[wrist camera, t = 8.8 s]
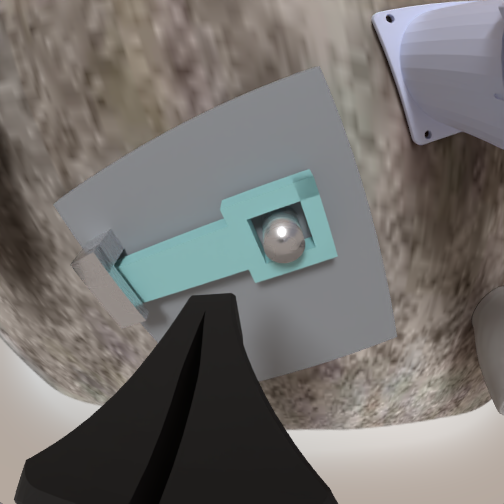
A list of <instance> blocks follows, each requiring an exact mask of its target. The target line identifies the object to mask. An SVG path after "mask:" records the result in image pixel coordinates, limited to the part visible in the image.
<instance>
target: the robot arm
mask: <svg viewBox="0 0 504 504" xmlns="http://www.w3.org/2000/svg"><path fill="white" fill-rule="evenodd" d="M386 15H388V16H390V17H391V19H392V22H391V23H389V22H388V21H387V20H386ZM372 23H373V25H374V28H375V30H376V32H377V35H378V37H379V40H380V42H381V45H382V47H383V50H384V52H385V55H386V57H387V60H388V63H389V66H390V68H391V71H392V74H393V77H394V80H395V83H396V86H397V89H398V92H399V95H400V98H401V101H402V105H403V108H404V111H405V115H406V118H407V122H408V126H409V129H410V133H411V137H412V140H413V141H414V142H415V143H416V144H418V145H424V144H427V143H430V142H433V141H436V140H439V139H442V138H445V137H448V136H451V135H454V134H457V133H460V132H465V133H468V134H470V135H472V136H475V137H477V138H479V139H482V140H484V141H486V142H488V143H490V144H493V145H495V146H497V147H499V148H501V149H503V150H504V0H485V1H460V2H446V3H435V4H426V5H418V6H411V7H404V8H398V9H392V10H387V11H382V12H378V13H375V14H374V15H373V16H372ZM426 131H428V132H429V135H428V137H426V138H425V132H426ZM14 500H15V502H16V503H17V504H338V502H337V501H336V499H335V497H334V496H333V494H332V492H331V490H330V488H329V487H328V486H327V485H326V483H325V482H324V481H323V480H322V479H321V478H320V476H319V475H318V474H317V473H316V471H315V470H314V469H313V468H312V466H311V465H310V464H309V463H308V461H307V460H306V459H305V457H304V456H303V455H302V453H301V452H300V451H299V449H298V448H297V446H296V445H295V444H294V442H293V441H292V439H291V437H290V436H289V434H288V433H287V431H286V430H285V428H284V427H283V425H282V423H281V422H280V420H279V419H278V417H277V416H276V414H275V412H274V410H273V409H272V407H271V405H270V403H269V401H268V400H267V398H266V396H265V394H264V392H263V390H262V388H261V386H260V384H259V382H258V380H257V377H256V375H255V373H254V371H253V368H252V366H251V363H250V361H249V359H248V356H247V353H246V351H245V348H244V345H243V334H242V329H241V323H240V318H239V312H238V306H237V301H236V296H235V295H234V294H232V293H221V294H206V295H192V296H191V297H190V298H189V299H188V301H187V302H186V304H185V305H184V307H183V308H182V310H181V311H180V313H179V314H178V316H177V317H176V319H175V320H174V322H173V323H172V325H171V326H170V327H169V329H168V330H167V332H166V333H165V334H164V336H163V337H162V339H161V340H160V341H159V343H158V344H157V346H156V347H155V348H154V349H153V351H152V352H151V353H150V355H149V356H148V357H147V358H146V360H145V361H144V362H143V363H142V365H141V366H140V367H139V368H138V369H137V371H136V372H135V373H134V374H133V375H132V376H131V378H130V379H129V380H128V381H127V382H126V383H125V384H124V385H123V386H122V387H121V388H120V389H119V390H118V392H117V393H116V394H115V395H114V396H113V397H111V398H110V399H109V400H108V401H107V402H106V403H105V404H104V405H103V406H102V407H101V408H100V409H98V411H96V412H95V413H94V414H93V415H92V416H91V417H90V418H88V419H87V420H86V421H85V422H83V423H82V424H81V425H79V426H78V427H77V428H76V429H74V430H73V431H72V432H70V433H69V434H68V435H66V436H65V437H64V438H62V439H60V440H59V441H57V442H56V443H54V444H53V445H51V446H49V447H48V448H46V449H45V450H43V451H41V452H40V453H38V454H36V455H34V456H33V457H31V458H29V459H27V460H26V462H25V465H24V468H23V471H22V474H21V477H20V480H19V484H18V487H17V490H16V494H15V498H14ZM0 504H2V503H0Z"/></svg>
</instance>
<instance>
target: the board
mask: <svg viewBox="0 0 504 504" xmlns="http://www.w3.org/2000/svg"><path fill="white" fill-rule="evenodd" d="M308 169H310V171H311V173H312V174H313V176H314V179H315V182H316V185H317V188H318V192H319V195H320V198H321V201H322V204H323V207H324V211H325V214H326V217H327V221H328V224H329V227H330V231H331V234H332V238H333V241H334V244H335V248H336V252H337V255H338V257H335V258H332V259H329V260H326V261H323V262H320V263H316V264H313V265H310V266H307V267H304V268H301V269H298V270H295V271H292V272H289V273H286V274H283V275H280V276H276V277H273V278H270V279H267V280H264V281H261V282H257V283H255V281H254V279H253V277H252V275H251V273H250V271H249V270H246V271H242V272H239V273H236V274H233V275H230V276H227V277H224V278H221V279H218V280H214V281H211V282H208V283H205V284H202V285H199V286H196V287H192V288H189V289H186V290H183V291H180V292H177V293H173V294H170V295H167V296H164V297H161V298H157V299H154V300H151V301H148V302H145V303H143V305H144V306H145V307H146V308H147V310H148V311H149V314H148V317H147V319H146V321H144V322H141V324H142V325H143V326H144V328H145V329H146V330H147V331H148V332H149V333H150V335H151V336H152V337H153V338H154V339H155V340H156V341H157V343H159V341H160V340H161V339H162V337H163V336H164V334H165V333H166V332H167V330H168V329H169V327H170V326H171V325H172V323H173V322H174V320H175V319H176V317H177V316H178V314H179V313H180V311H181V310H182V308H183V307H184V305H185V304H186V302H187V301H188V299H189V298H190V297H191V296H192V295H206V294H221V293H232V294H234V295H235V296H236V301H237V306H238V312H239V318H240V323H241V329H242V334H243V345H244V348H245V351H246V353H247V356H248V359H249V361H250V363H251V366H252V368H253V371H254V373H255V375H256V377H257V380H258V382H259V381H263V380H267V379H271V378H274V377H278V376H282V375H285V374H289V373H292V372H296V371H299V370H303V369H306V368H309V367H312V366H316V365H319V364H322V363H325V362H328V361H331V360H334V359H337V358H340V357H343V356H346V355H349V354H352V353H355V352H358V351H360V350H363V349H366V348H369V347H371V346H374V345H377V344H379V343H382V342H385V341H387V340H390V339H392V338H395V337H397V333H396V327H395V321H394V315H393V309H392V304H391V299H390V293H389V288H388V283H387V279H386V274H385V269H384V265H383V260H382V256H381V251H380V247H379V243H378V239H377V235H376V231H375V227H374V223H373V219H372V216H371V212H370V208H369V205H368V201H367V198H366V194H365V191H364V187H363V184H362V181H361V178H360V174H359V171H358V168H357V165H356V162H355V159H354V156H353V153H352V150H351V147H350V144H349V141H348V138H347V135H346V132H345V129H344V127H343V124H342V121H341V118H340V116H339V113H338V110H337V108H336V105H335V103H334V100H333V98H332V95H331V92H330V90H329V88H328V85H327V83H326V80H325V78H324V75H323V73H322V71H321V68H320V66H318V67H313V68H310V69H307V70H304V71H302V72H299V73H296V74H293V75H291V76H288V77H285V78H283V79H280V80H277V81H275V82H272V83H270V84H267V85H265V86H262V87H260V88H257V89H255V90H253V91H250V92H248V93H245V94H243V95H241V96H239V97H236V98H234V99H232V100H230V101H227V102H225V103H223V104H221V105H219V106H216V107H214V108H212V109H210V110H208V111H206V112H204V113H202V114H200V115H198V116H196V117H194V118H192V119H190V120H188V121H186V122H184V123H182V124H180V125H178V126H176V127H174V128H172V129H171V130H169V131H167V132H165V133H163V134H161V135H159V136H158V137H156V138H154V139H152V140H151V141H149V142H147V143H145V144H144V145H142V146H140V147H138V148H137V149H135V150H133V151H132V152H130V153H128V154H127V155H125V156H123V157H122V158H120V159H118V160H117V161H115V162H114V163H112V164H110V165H109V166H107V167H106V168H104V169H103V170H101V171H99V172H98V173H96V174H95V175H93V176H92V177H90V178H89V179H87V180H86V181H84V182H83V183H81V184H80V185H79V186H77V187H76V188H74V189H73V190H71V191H70V192H69V193H67V194H66V195H64V196H63V197H62V198H60V199H59V200H58V201H57V202H56V203H54V206H55V208H56V209H57V211H58V212H59V214H60V215H61V217H62V219H63V220H64V222H65V223H66V225H67V226H68V228H69V229H70V231H71V232H72V234H73V235H74V237H75V238H76V239H77V241H78V242H79V244H80V245H81V247H82V248H84V246H85V245H86V244H87V243H88V241H89V240H91V239H93V238H95V237H97V236H98V235H100V234H102V233H104V232H106V231H107V230H109V229H112V231H113V232H114V234H115V235H116V237H117V238H118V240H119V241H120V243H121V244H122V246H123V247H124V250H123V251H122V253H121V254H120V256H119V258H118V259H120V258H123V257H125V256H128V255H130V254H133V253H135V252H138V251H140V250H143V249H145V248H148V247H150V246H153V245H155V244H158V243H160V242H163V241H166V240H168V239H171V238H173V237H176V236H178V235H181V234H184V233H186V232H189V231H192V230H194V229H197V228H199V227H202V226H205V225H207V224H210V223H213V222H215V221H218V220H221V219H224V217H223V215H222V213H221V211H220V207H221V202H222V200H224V199H227V198H229V197H232V196H235V195H237V194H240V193H243V192H245V191H248V190H251V189H254V188H256V187H259V186H262V185H265V184H267V183H270V182H273V181H276V180H279V179H282V178H284V177H287V176H290V175H293V174H296V173H299V172H302V171H305V170H308ZM287 206H290V207H291V208H293V209H294V210H295V212H296V213H297V216H298V219H299V223H300V226H301V229H302V233H303V236H304V239H306V238H309V237H312V234H311V232H310V229H309V226H308V223H307V220H306V217H305V214H304V211H303V208H302V205H301V202H300V201H299V202H296V203H293V204H290V205H287ZM262 217H263V214H262V215H259V216H256V217H253V218H251V221H252V223H253V225H254V228H255V230H256V232H257V234H258V237H259V239H260V241H261V244H262V246H263V231H262ZM263 248H264V246H263ZM118 259H117V260H118Z"/></svg>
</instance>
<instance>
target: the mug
mask: <svg viewBox="0 0 504 504" xmlns="http://www.w3.org/2000/svg"><path fill="white" fill-rule="evenodd" d="M472 325H473V328H474V334H475V345H476V351H477V356H478V361H479V365H480V368H481V371H482V374H483V377H484V380H485V383H486V386H487V388H488V391H489V393H490V395H491V398H492V400H493V402H494V404H495V406H496V408H497V410H498V412H499V413H500V414H502V415H504V286H501V287H498V288H496V289H494V290H492V291H491V292H490V293H488V294H487V295H486V296H485V297H484V298H483V299H482V300H481V302H480V303H479V304H478V306H477V307H476V309H475V311H474V313H473V316H472Z"/></svg>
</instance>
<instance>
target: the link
mask: <svg viewBox="0 0 504 504" xmlns="http://www.w3.org/2000/svg"><path fill="white" fill-rule="evenodd" d="M299 201H300V202H301V205H302V208H303V211H304V214H305V217H306V220H307V223H308V226H309V229H310V232H311V234H312V237H309V238H306V239H304V240H305V249H304V252H303V253H302V255H301V256H300V257H299V258H298V259H297V260H295V261H293V262H290V263H277V262H274V261H272V260H271V259H269V258H268V257H267V255H266V254H265V252H264V248H263V246H262V244H261V241H260V239H259V237H258V234H257V232H256V230H255V228H254V225H253V223H252V221H251V218H253V217H256V216H259V215H262V214H264V213H267V212H270V211H273V210H276V209H279V208H282V207H285V206H287V205H290V204H293V203H296V202H299ZM220 211H221V213H222V215H223V217H224V219H221V220H218V221H215V222H213V223H210V224H207V225H205V226H202V227H199V228H197V229H194V230H192V231H189V232H186V233H184V234H181V235H178V236H176V237H173V238H171V239H168V240H166V241H163V242H160V243H158V244H155V245H153V246H150V247H148V248H145V249H143V250H140V251H138V252H135V253H133V254H130V255H128V256H125V257H123V258H120V259H118V260H117V261H116V263H115V264H114V267H115V268H116V269H117V271H118V272H119V273H120V275H121V276H122V277H123V279H124V280H125V281H126V283H127V284H128V285H129V287H130V288H131V289H132V291H133V292H134V293H135V294H136V296H137V297H138V298H139V300H140V301H141V302H142V303H145V302H148V301H151V300H154V299H157V298H161V297H164V296H167V295H170V294H173V293H177V292H180V291H183V290H186V289H189V288H192V287H196V286H199V285H202V284H205V283H208V282H211V281H214V280H218V279H221V278H224V277H227V276H230V275H233V274H236V273H239V272H242V271H246V270H249V271H250V273H251V275H252V277H253V279H254V281H255V283H257V282H261V281H264V280H267V279H270V278H273V277H276V276H280V275H283V274H286V273H289V272H292V271H295V270H298V269H301V268H304V267H307V266H310V265H313V264H316V263H320V262H323V261H326V260H329V259H332V258H335V257H338V255H337V252H336V248H335V244H334V241H333V238H332V234H331V231H330V227H329V224H328V221H327V217H326V214H325V211H324V207H323V204H322V201H321V198H320V195H319V192H318V188H317V185H316V182H315V179H314V176H313V174H312V173H311V171H310V169H308V170H305V171H302V172H299V173H296V174H293V175H290V176H287V177H284V178H282V179H279V180H276V181H273V182H270V183H267V184H265V185H262V186H259V187H256V188H254V189H251V190H248V191H245V192H243V193H240V194H237V195H235V196H232V197H229V198H227V199H224V200H222V202H221V207H220Z"/></svg>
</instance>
